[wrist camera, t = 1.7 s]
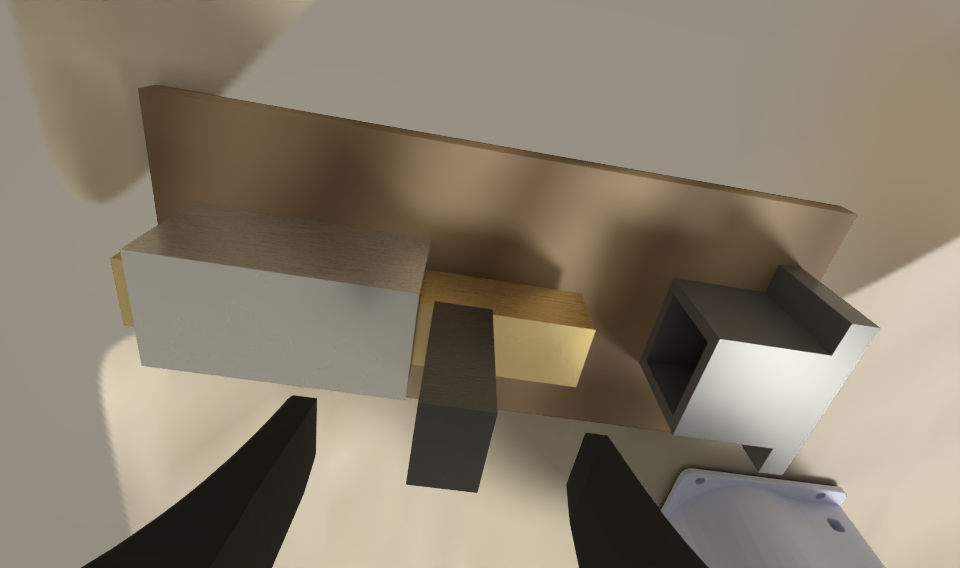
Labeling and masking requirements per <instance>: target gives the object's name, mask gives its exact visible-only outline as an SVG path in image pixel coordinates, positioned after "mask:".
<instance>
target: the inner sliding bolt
mask: <svg viewBox="0 0 960 568" xmlns="http://www.w3.org/2000/svg"><path fill="white" fill-rule="evenodd" d="M110 259H111V265H112V270H113V275H114V280H115V284H116V289H117V294H118V300H119V304H120V309H121V314H122V319H123V324H124V325H127V326H134V322H133V316H132V311H131V306H130V300H129V295H128V290H127V285H126V279H125V274H124V269H123V263H122V258H121V253H120V252H119V253H117V254H116V255H114V256H113V257H111V258H110ZM595 331H596V329H595V327H594V324H593V321H592V319H591V316H590V313H589V311H588V308H587V305H586V303H585V300H584V297H583V295H582V293H576V292H569V291H563V290H556V289H550V288H543V287H537V286H530V285H524V284H517V283H511V282H504V281H498V280H491V279H485V278H478V277H472V276H465V275H459V274H452V273H445V272H439V271H432V270H425V275H424V280H423V284H422V289H421V293H420V298H419V305H418V312H417V320H416V327H415V335H414V342H413V350H412V357H411V365H418V366H424V370H423V376H422V382H421V388H420V395H419V401H418V408H417V414H416V421H415V428H414V434H413V441H412V448H411V455H410V461H409V468H408V475H407V481H406V484H407V485H415V486H424V487H432V488H441V489H449V490H458V491H466V492H475V493H477V492H478V488H479V484H480V480H481V476H482V472H483V468H484V464H485V460H486V456H487V452H488V448H489V444H490V440H491V437H492V433H493V429H494V425H495V421H496V417H497V392H496V376H498V377H505V378H512V379H520V380H527V381H534V382H541V383H549V384H556V385H563V386H571V387H576V386H577V384H578V381H579V378H580V375H581V372H582V369H583V366H584V363H585V360H586V357H587V354H588V351H589V348H590V345H591V343H592V340H593V337H594V334H595Z"/></svg>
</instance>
